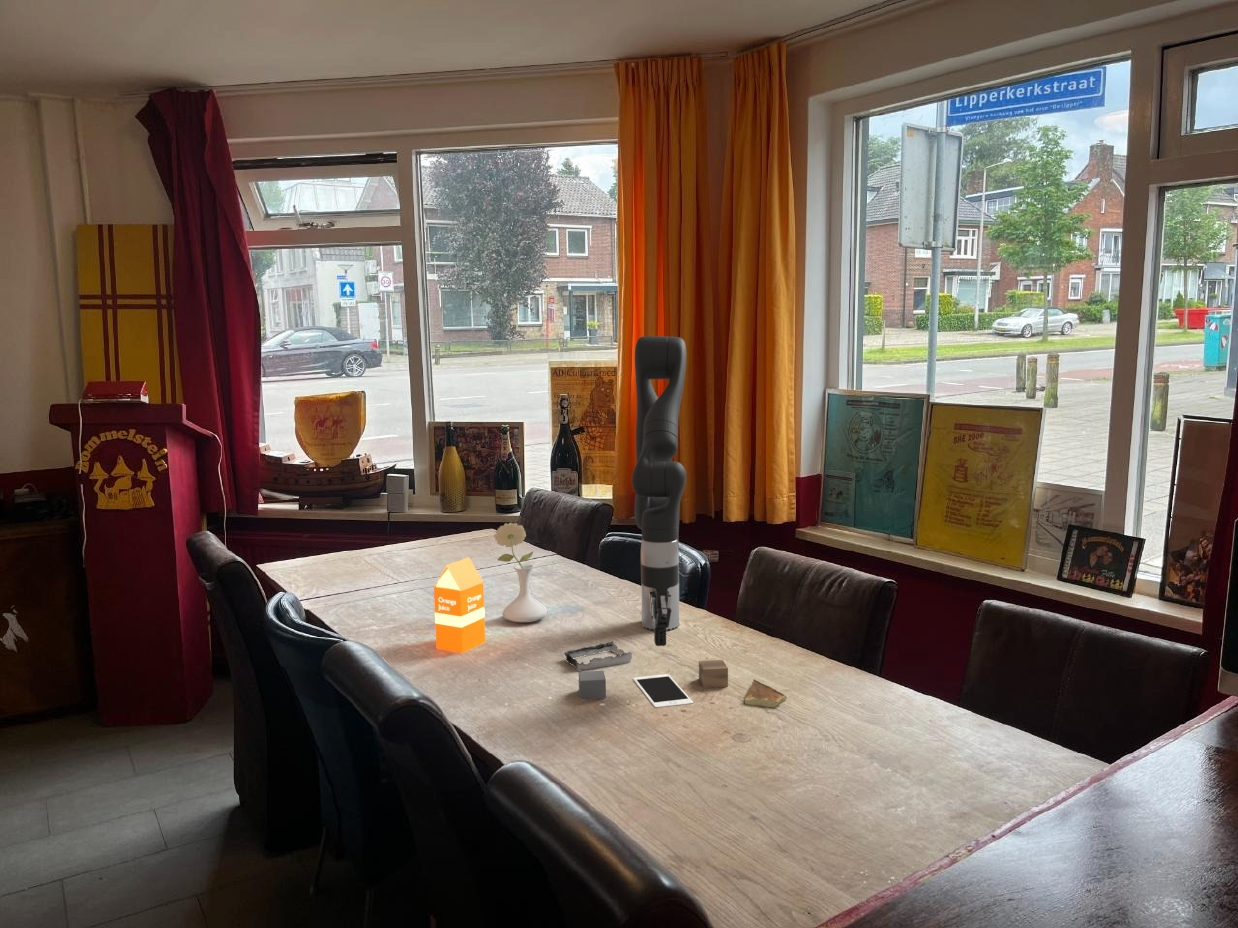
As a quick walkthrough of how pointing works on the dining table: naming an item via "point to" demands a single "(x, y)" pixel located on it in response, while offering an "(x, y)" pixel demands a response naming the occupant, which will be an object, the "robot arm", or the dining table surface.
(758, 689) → the shard
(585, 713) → the dining table surface
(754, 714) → the dining table surface
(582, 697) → the charcoal block
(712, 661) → the walnut block
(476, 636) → the orange juice
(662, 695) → the cell phone
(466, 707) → the dining table surface
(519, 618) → the flower in vase
